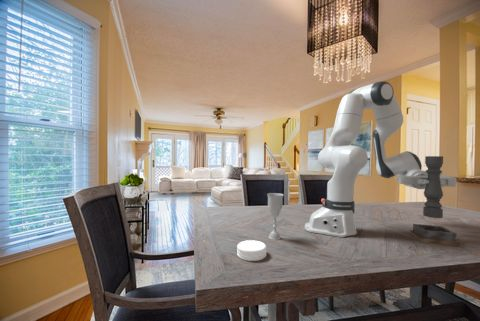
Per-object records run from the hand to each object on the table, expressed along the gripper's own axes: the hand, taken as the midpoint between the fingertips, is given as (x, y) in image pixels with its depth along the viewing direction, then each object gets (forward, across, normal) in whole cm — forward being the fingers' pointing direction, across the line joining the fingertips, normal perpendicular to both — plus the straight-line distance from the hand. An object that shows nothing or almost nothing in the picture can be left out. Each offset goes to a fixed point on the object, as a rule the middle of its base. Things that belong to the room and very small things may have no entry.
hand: (434, 182), depth 93 cm
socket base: (-1, 0, +24) cm, 24 cm away
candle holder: (-1, 0, +14) cm, 15 cm away
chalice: (+19, -63, +24) cm, 70 cm away
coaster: (+38, -68, +24) cm, 82 cm away
